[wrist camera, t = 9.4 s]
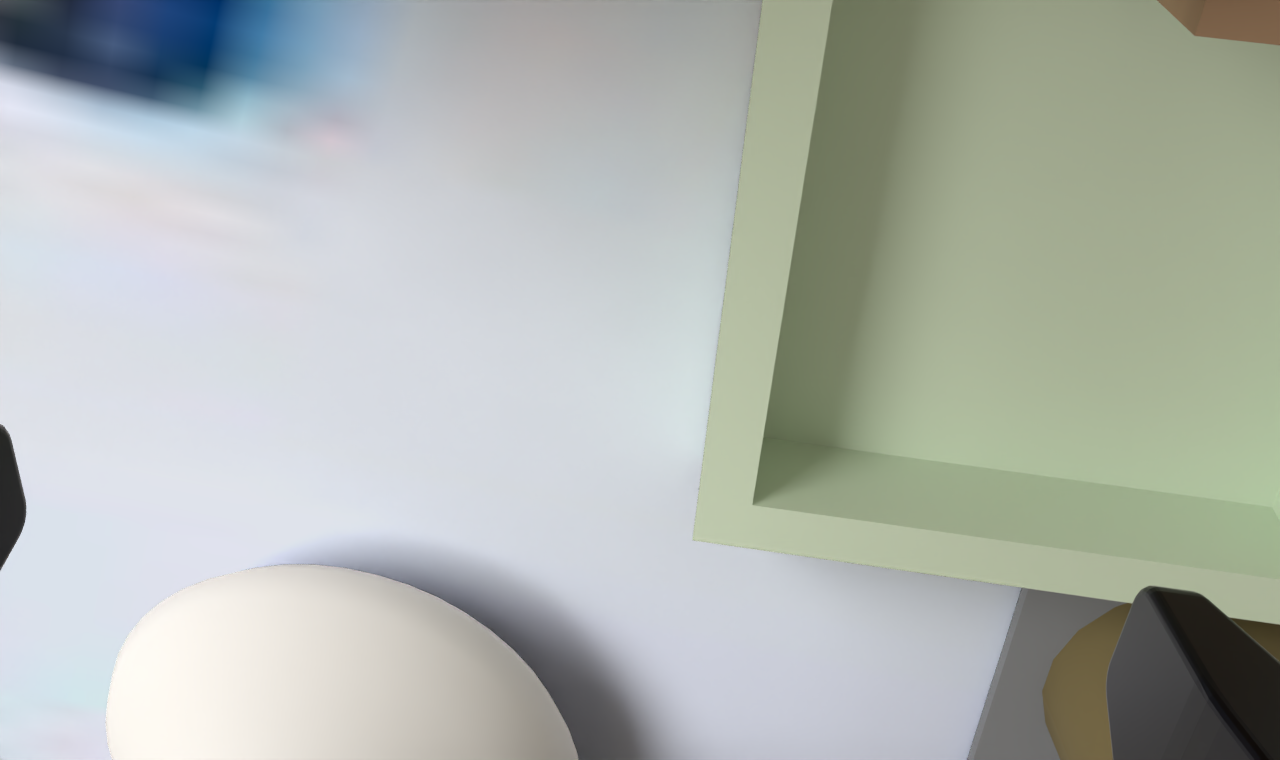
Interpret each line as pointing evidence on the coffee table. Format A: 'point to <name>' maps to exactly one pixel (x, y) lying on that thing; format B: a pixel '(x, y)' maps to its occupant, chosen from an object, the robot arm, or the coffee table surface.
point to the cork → (1101, 684)
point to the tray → (1005, 300)
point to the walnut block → (1229, 19)
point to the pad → (1030, 674)
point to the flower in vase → (323, 676)
